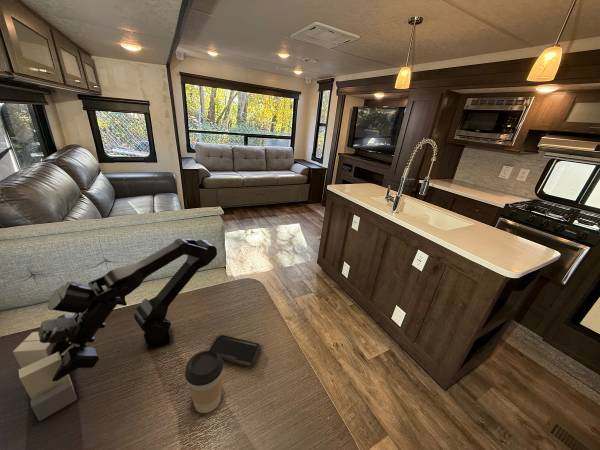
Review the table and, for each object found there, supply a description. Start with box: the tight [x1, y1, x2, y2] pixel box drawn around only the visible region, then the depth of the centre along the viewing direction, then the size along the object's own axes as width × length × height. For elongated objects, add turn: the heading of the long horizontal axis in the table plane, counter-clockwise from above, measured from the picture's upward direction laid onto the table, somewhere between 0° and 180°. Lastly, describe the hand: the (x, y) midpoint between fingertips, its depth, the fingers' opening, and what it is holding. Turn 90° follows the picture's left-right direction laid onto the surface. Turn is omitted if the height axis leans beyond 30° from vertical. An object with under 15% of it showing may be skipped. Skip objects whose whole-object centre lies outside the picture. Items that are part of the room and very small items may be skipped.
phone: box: [209, 334, 261, 367], centre depth 80 cm, size 8×1×15 cm
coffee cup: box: [184, 349, 224, 414], centre depth 64 cm, size 9×9×15 cm
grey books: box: [30, 374, 78, 422], centre depth 63 cm, size 7×10×6 cm
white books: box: [12, 331, 70, 369], centre depth 67 cm, size 7×6×12 cm
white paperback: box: [18, 352, 75, 401], centre depth 62 cm, size 7×3×12 cm, turn 139°
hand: (52, 370), depth 62 cm, fingers open, 7 cm apart
